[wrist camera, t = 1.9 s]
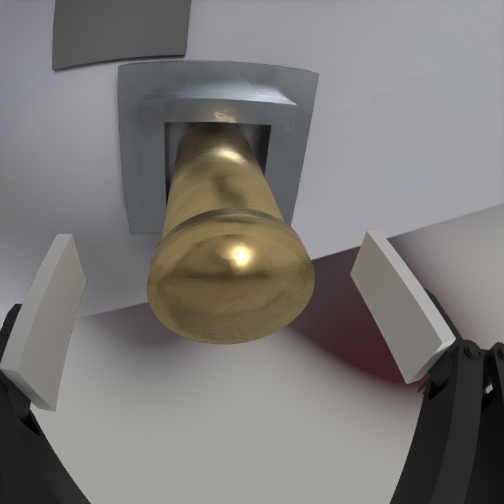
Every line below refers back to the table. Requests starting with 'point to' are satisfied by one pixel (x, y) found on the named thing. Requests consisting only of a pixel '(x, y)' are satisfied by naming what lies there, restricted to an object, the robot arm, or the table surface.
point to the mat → (117, 30)
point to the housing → (209, 110)
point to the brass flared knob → (225, 246)
